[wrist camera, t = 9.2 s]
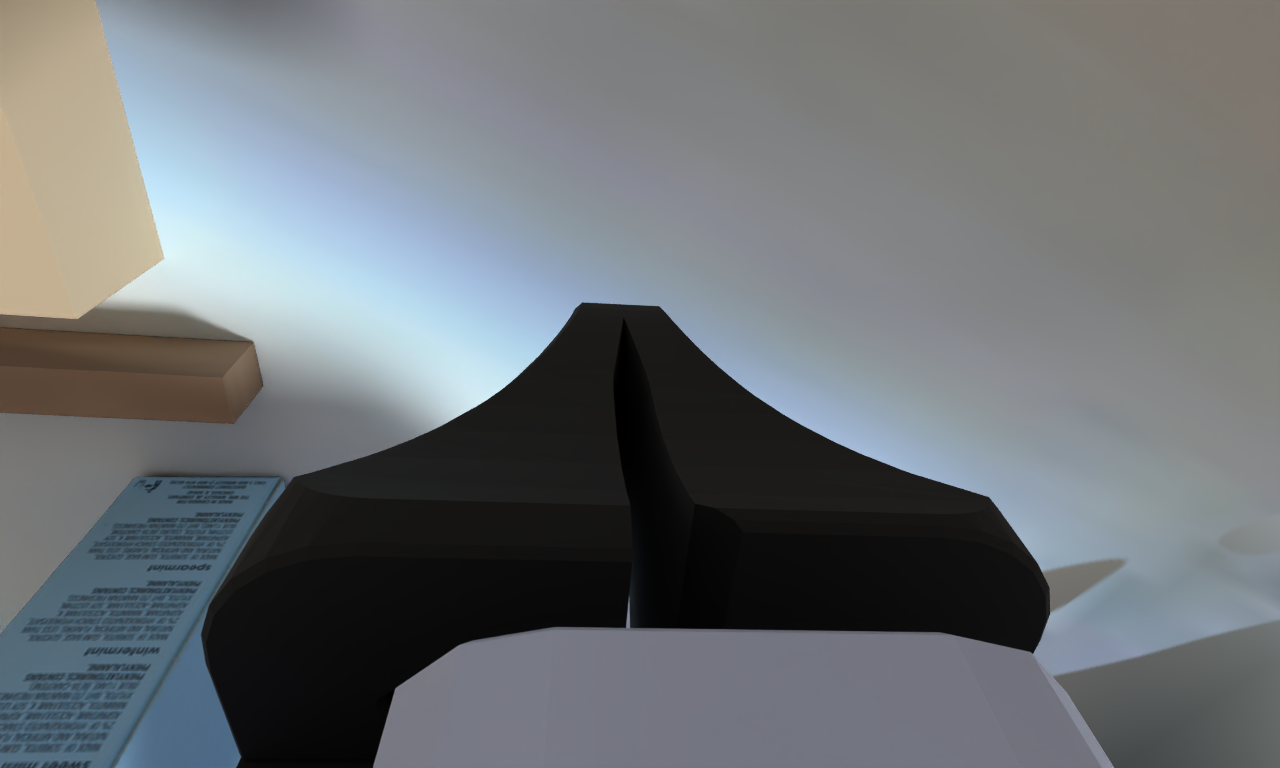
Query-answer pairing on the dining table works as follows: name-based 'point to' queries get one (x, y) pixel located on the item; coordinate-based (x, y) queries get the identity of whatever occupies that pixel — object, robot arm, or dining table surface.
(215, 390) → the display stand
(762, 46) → the dining table surface
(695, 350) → the robot arm
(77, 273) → the kraft carton
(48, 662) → the gum box
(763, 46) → the dining table surface
